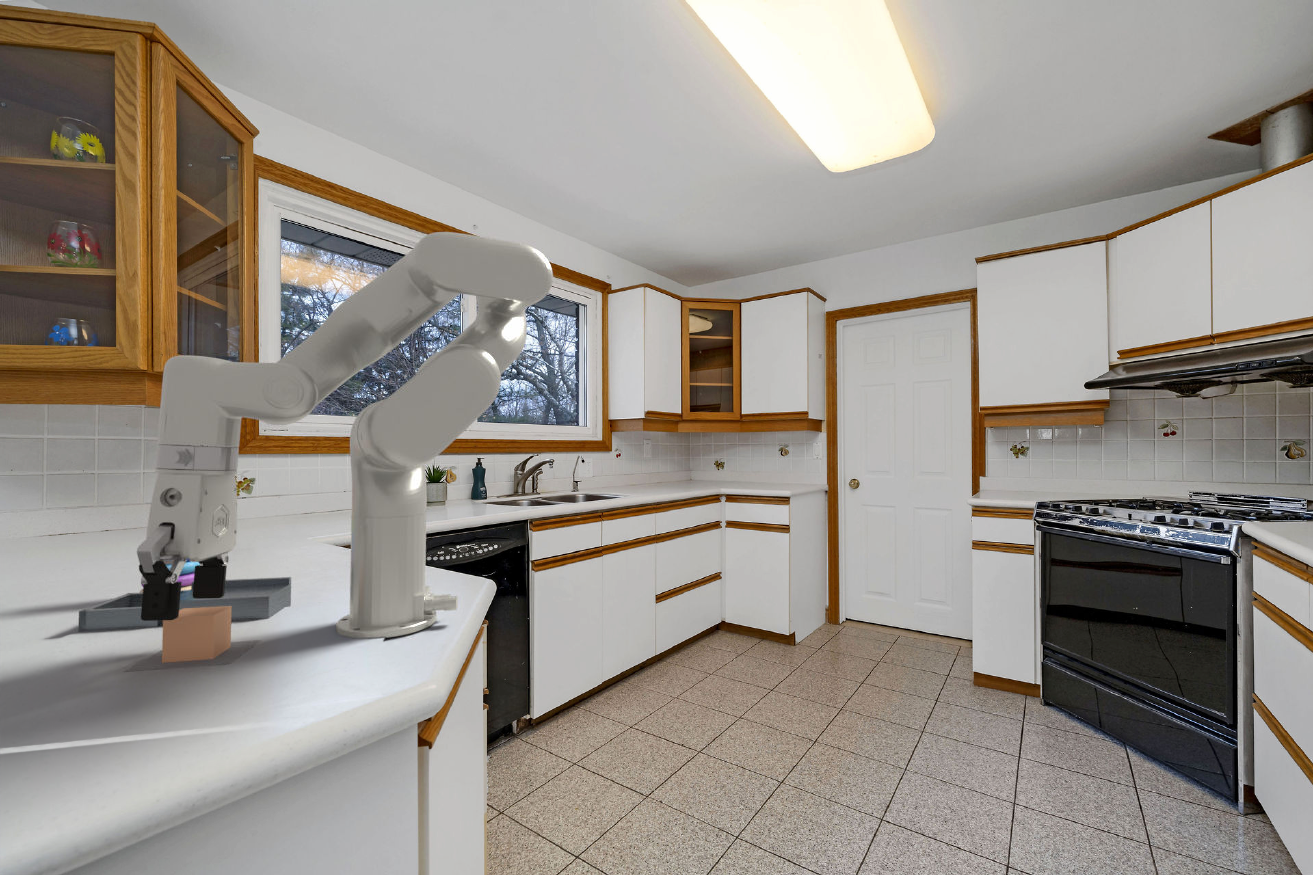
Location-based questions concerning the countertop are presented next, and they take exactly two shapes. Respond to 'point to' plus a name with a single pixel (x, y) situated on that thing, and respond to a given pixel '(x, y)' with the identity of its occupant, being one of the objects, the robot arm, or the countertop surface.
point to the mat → (224, 658)
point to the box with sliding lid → (194, 604)
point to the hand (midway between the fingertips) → (185, 607)
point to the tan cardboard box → (197, 634)
